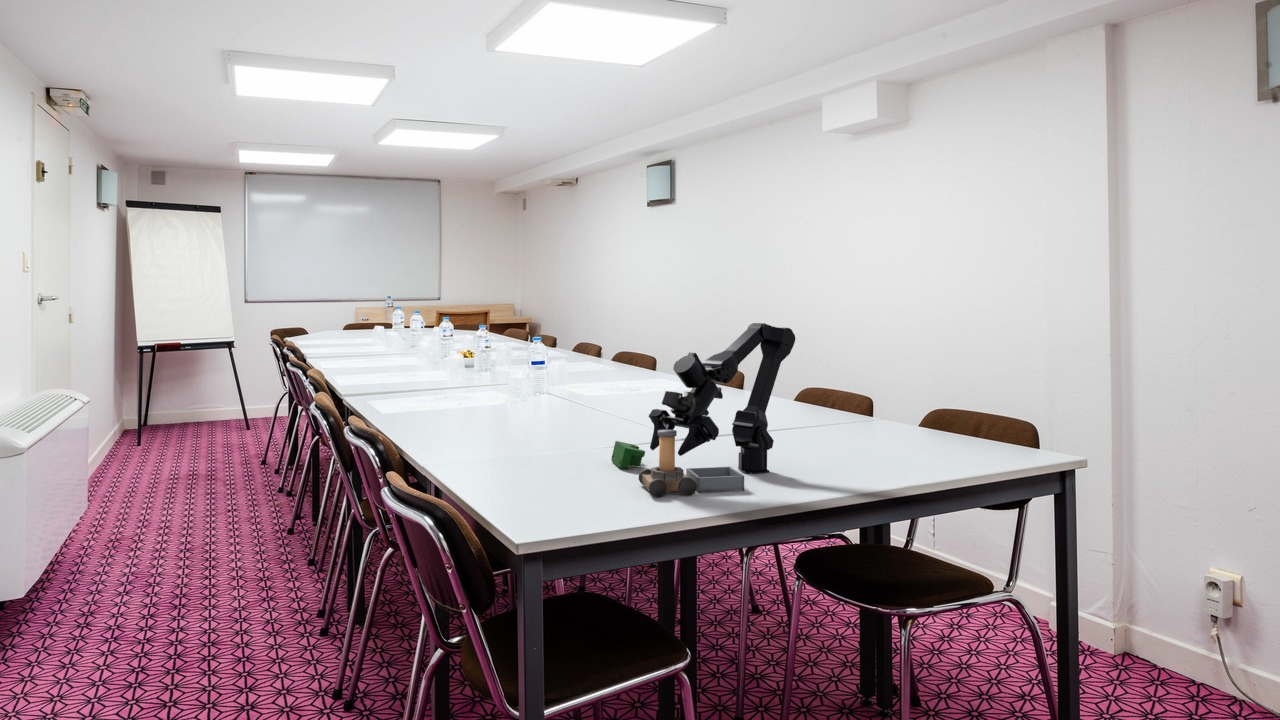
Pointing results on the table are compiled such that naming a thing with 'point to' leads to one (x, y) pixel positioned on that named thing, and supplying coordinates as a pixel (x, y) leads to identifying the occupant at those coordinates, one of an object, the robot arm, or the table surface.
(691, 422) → the robot arm
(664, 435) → the pin
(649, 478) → the trolley
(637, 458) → the green block
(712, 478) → the tray
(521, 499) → the table surface
